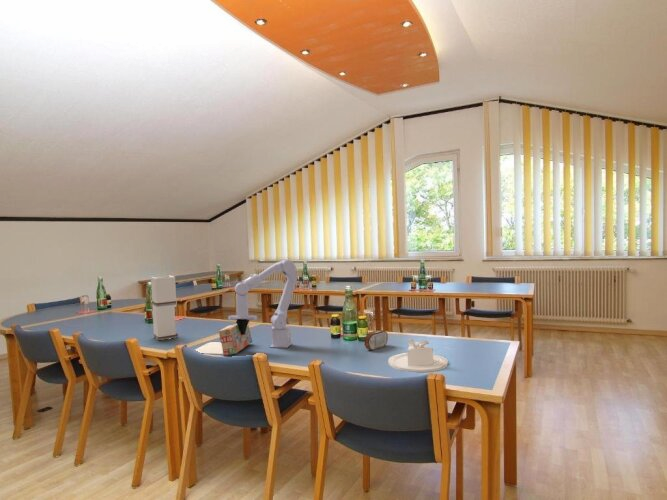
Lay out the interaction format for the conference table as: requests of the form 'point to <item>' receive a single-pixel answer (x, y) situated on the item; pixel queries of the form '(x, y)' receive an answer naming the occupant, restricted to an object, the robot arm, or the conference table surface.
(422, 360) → the dish
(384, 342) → the slice of bread
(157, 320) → the white mini fridge
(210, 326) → the conference table surface
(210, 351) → the mat
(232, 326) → the printed cardboard box
